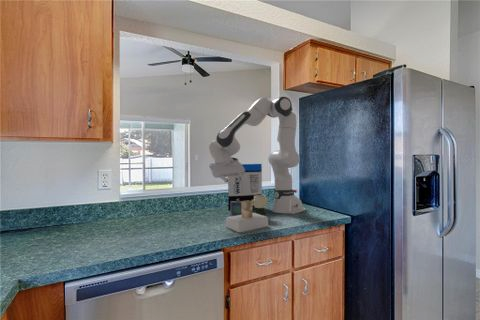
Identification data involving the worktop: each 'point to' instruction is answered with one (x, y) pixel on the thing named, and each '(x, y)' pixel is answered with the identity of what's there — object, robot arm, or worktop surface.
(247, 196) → the protein powder
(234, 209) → the flask
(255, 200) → the character mug
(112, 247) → the worktop surface
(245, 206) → the maple block
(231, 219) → the grey box
